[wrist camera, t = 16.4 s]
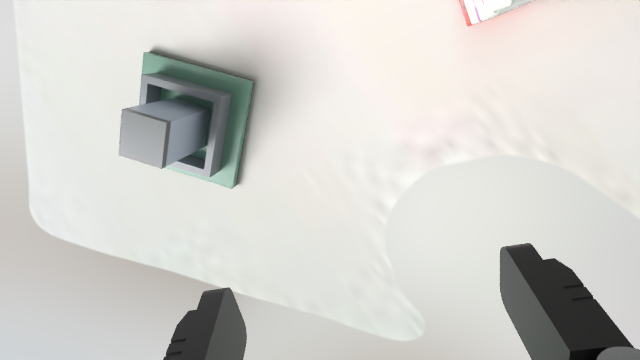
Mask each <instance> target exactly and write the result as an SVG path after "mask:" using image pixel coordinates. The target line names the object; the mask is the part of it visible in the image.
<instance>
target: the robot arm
mask: <svg viewBox="0 0 640 360" xmlns="http://www.w3.org/2000/svg"><path fill="white" fill-rule="evenodd" d="M500 292H501V297H502V301H503V304H504V306H505V309H506V311H507V313H508V314H509V316H510V319H511V320H512V322H513V324H514V326H515V328H516V330H517V332H518V334H519V336H520V338H521V340H522V342H523V343H524V345H525V347H526V349H527V351H528V353H529V355H530V357H531V359H532V360H640V350H639V349H635V348H634V347H633V346H632V345H631V344H630V342H629V341H628V340H627V339H626V337H625V336H624V335H623V333H622V332H621V331H620V330H619V328H618V327H617V326H616V325H615V323H614V322H613V321H612V320H611V318H610V317H609V316H608V315H607V313H606V312H605V311H604V310H603V308H602V307H601V306H600V305H599V303H598V302H597V301H596V300H595V299H593V296H592V295H591V293H590V292H589V291H588V290H587V288H586V287H584V286H583V283H582V282H581V281H580V279H579V278H578V277H577V276H576V274H575V273H574V272H573V270H572V269H570V268H568V267H567V266H565V265H564V264H562V263H561V262H559V261H557V260H556V259H554V258H553V259H546V260H543V259H542V258H541V256H540V255H539V254H538V252H537V251H536V250H535V248H534V247H533V246H532V245H531V244H530V243H526V244H520V245H513V246H506V247H502V248H501V250H500ZM246 337H247V336H246V327H245V323H244V320H243V317H242V315H241V313H240V310H239V308H238V305H237V302H236V300H235V297H234V295H233V292H232V290H231V289H230V288H222V289H216V290H209V291H204V292H203V294H202V296H201V299H200V302H199V305H198V308H197V310H192V311H188V313H187V314H186V315H185V316H184V317H183V319H182V320H181V321H180V322H179V324H178V325H177V327H176V329H175V332H174V334H173V337H172V339H171V344H169V347H168V349H167V352H166V357H164V359H163V360H243V357H244V352H245V347H246V339H247V338H246Z"/></svg>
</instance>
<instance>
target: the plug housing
mask: <svg viewBox="0 0 640 360" xmlns="http://www.w3.org/2000/svg"><path fill="white" fill-rule="evenodd" d="M209 114H210V108H206V107H203V106H200V105H196V104H193V103H189V102H186V101H183V100H179V99H176V98H169V99H165V100H161V101H156V102H152V103H148V104H143V105H139V106H135V107H130V108H126V109H122V115H121V129H120V143H119V155H120V156H123V157H126V158H129V159H133V160H136V161H139V162H142V163H145V164H148V165H152V166H155V167H158V168H161V169H162V168H164V167H166V166H168V165H170V164H172V163H174V162H176V161H178V160H180V159H182V158H184V157H186V156H188V155H190V154H192V153H194V152H196V151H198V150H200V149H202V148H204V147H205V141H206V134H207V127H208V120H209Z"/></svg>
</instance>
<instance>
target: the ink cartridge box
mask: <svg viewBox="0 0 640 360" xmlns="http://www.w3.org/2000/svg"><path fill="white" fill-rule="evenodd" d="M459 1H460V4H461V7H462V10H463V13H464V16H465V19H466V22H467V26H471V25H474V24H477V23H479V22H482V21H485V20H487V19H490V18H493V17H495V16H498V15H500V14H503V13H505V12H508V11H510V10H513V9H515V8H518V7H520V6H522V5H525V4H527V3H529V2H532V1H534V0H459Z"/></svg>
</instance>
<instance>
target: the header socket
mask: <svg viewBox="0 0 640 360" xmlns="http://www.w3.org/2000/svg"><path fill="white" fill-rule="evenodd" d="M253 84H254V81H251V80H248V79H244V78H241V77H237V76H233V75H230V74H226V73H223V72H219V71H215V70H212V69H208V68H204V67H201V66H197V65H194V64H190V63H186V62H183V61H179V60H176V59H172V58H168V57H165V56H161V55H158V54H154V53H150V52H144V54H143V67H142V76H141V88H140V101H139V105H143V104H148V103H152V102H156V101H161V100H165V99H169V98H176V99H179V100H183V101H186V102H189V103H193V104H196V105H200V106H203V107H206V108H210V114H209V120H208V127H207V134H206V141H205V147H204V148H202V149H200V150H198V151H196V152H194V153H192V154H190V155H188V156H186V157H184V158H182V159H180V160H178V161H176V162H174V163H172V164H170V165H168V166H166V167H164V168H167V169H170V170H173V171H176V172H180V173H183V174H186V175H189V176H193V177H196V178H199V179H202V180H205V181H209V182H212V183H215V184H218V185H221V186H225V187H228V188H231V189H232V188H234V187H235V186H236V180H237V174H238V169H239V163H240V157H241V152H242V146H243V140H244V135H245V129H246V123H247V118H248V112H249V106H250V101H251V95H252V89H253Z"/></svg>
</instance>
